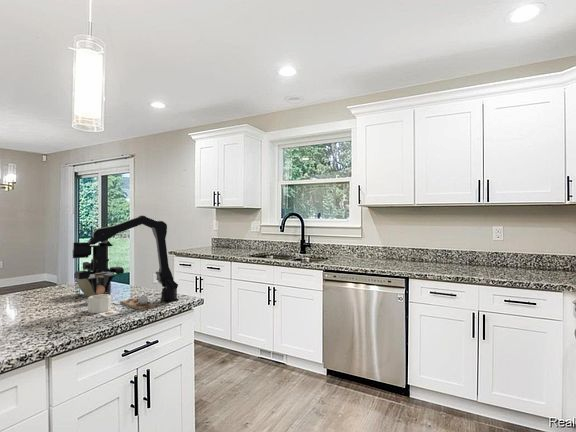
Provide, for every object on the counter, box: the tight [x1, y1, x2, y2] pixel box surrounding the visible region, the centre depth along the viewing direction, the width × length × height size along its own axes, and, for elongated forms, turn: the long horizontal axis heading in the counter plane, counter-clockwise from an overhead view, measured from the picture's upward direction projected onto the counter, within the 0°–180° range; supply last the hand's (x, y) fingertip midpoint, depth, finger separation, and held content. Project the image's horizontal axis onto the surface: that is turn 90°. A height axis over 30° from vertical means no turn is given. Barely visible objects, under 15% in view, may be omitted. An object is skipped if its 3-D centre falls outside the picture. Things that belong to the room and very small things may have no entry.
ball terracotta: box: [96, 285, 105, 294], centre depth 145 cm, size 4×4×4 cm
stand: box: [119, 297, 158, 311], centre depth 154 cm, size 8×18×2 cm, turn 53°
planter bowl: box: [77, 274, 112, 298], centre depth 173 cm, size 16×16×11 cm
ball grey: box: [138, 295, 149, 305], centre depth 152 cm, size 4×4×4 cm
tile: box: [98, 310, 120, 318], centre depth 140 cm, size 6×6×1 cm
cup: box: [87, 294, 112, 314], centre depth 145 cm, size 8×8×6 cm
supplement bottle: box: [95, 276, 112, 296], centre depth 161 cm, size 7×7×12 cm
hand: (99, 291), depth 145 cm, fingers closed on ball terracotta, 4 cm apart
